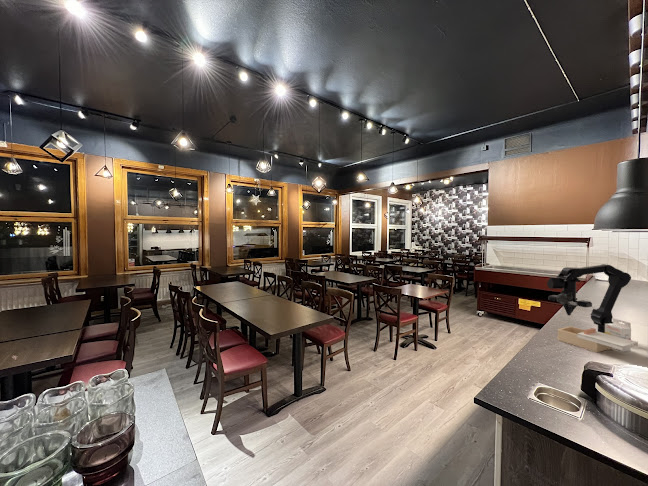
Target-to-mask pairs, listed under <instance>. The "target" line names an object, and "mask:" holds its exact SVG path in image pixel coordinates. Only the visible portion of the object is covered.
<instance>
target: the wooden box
mask: <svg viewBox="0 0 648 486" xmlns="http://www.w3.org/2000/svg"><path fill="white" fill-rule="evenodd" d="M584 330H585V329H581V328H578V327H575V326H567V327H562V328H557V340H558V341H560V342H563V343H567V344H570V345H574V346H576V347H578V348H579V347H580V348H582V349H586V350H588V351H591V352H594V353H600V352H603V351H607V350H611V349H612V347H609V346H606V345H602V344H599V343H595V342H592V341H589V340H585V339H582V338H578V337H577V333H582V332H584Z"/></svg>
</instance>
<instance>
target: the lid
mask: <svg viewBox="0 0 648 486" xmlns="http://www.w3.org/2000/svg"><path fill="white" fill-rule="evenodd" d="M583 330H584V332H582V333H577V337H578V338H582V339H585V340H589V341H592V342H595V343H599V344H602V345H606V346H609V347H611V348H612V347H613V348H612V349H614V348H616V349H615V350H617V349H619V350H623V347H625V346H629V345H631V346H637V347H639V343H638V342H639V341H636V340H632V339H631V340H628V339H624V338H621V337H617V336H613V335H609V334H605V333H601V332H598V330H597V329H596V328H594V327H592V328H587V329H583ZM619 350H618V351H619Z"/></svg>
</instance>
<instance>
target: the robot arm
mask: <svg viewBox="0 0 648 486" xmlns="http://www.w3.org/2000/svg"><path fill="white" fill-rule="evenodd" d="M600 273H603V274H604V275H605V276H607V277H608V278H607V281H608V287H607V290H606V292H605V294H604V296H603V299H602V301H601V303H600V305H599V307H598V308H597V309H596V308H593V309H592V310H591V313H590V314H589V315H590V319H591V321H592V322H593V325H595V326H597V331H598V332H601V333H605V324H613V318H614V317H613V314H612V313H613V312H612V311H613V308H614V306H615V304H616V301H617V300H618V297H619V295H620V292H621V291H622V289H623V288H625V287H626V286H628V285H629V283H630V282H631V280H632V276H631V275H630V273H628V272H624V271H622V270H621V269H618V268H616V267H614V266H612V265H611V264H603V263H602V264H600V265H599V264H598V265H591V266H584V267H571V266H570V267H569V266H568V267H563V268H562V269H561V271H560V273H559V274H558V275H556V277H554V276H550V277H549V278H548V280H547V281H546V285H547V286H546V287H548V288H549V289H550V290H551V289H553V290H554V289H555V290H561V291H560V293H559V294H557V295H556V294H552V295H551V294H550V295H549V296H548V301H551V302H555V301H556V302H557V303H559V304H560V305H562V306H563V309H564V310H565V313H566V315H567V316H569V317H570V316H571V315H572V313H573V312H574V310H575V309H576V308H577V307H582V308H591V307H593V303H592V301H589V300H585V299H584V300H583V299H582V300H578V298H577V294H578V291H577V283H581V282H582V281H581V280H580V279H579V278H581V277H583V276H585V275H592V274H593V275H594V274H600Z"/></svg>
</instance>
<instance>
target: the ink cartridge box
mask: <svg viewBox="0 0 648 486" xmlns="http://www.w3.org/2000/svg"><path fill="white" fill-rule="evenodd" d="M612 322H613V324H605V334H609V335H613V336H617V337H621V338H624V339H628V340H632V327H631V322H628V321H625V320H621V319H618V318H614V317H613V318H612ZM631 346H632V345H629V346H625V347H623V350H619V349H616V348H613V347H611V349H615V350H617V351H619V352H631V349H632V348H631Z"/></svg>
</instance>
